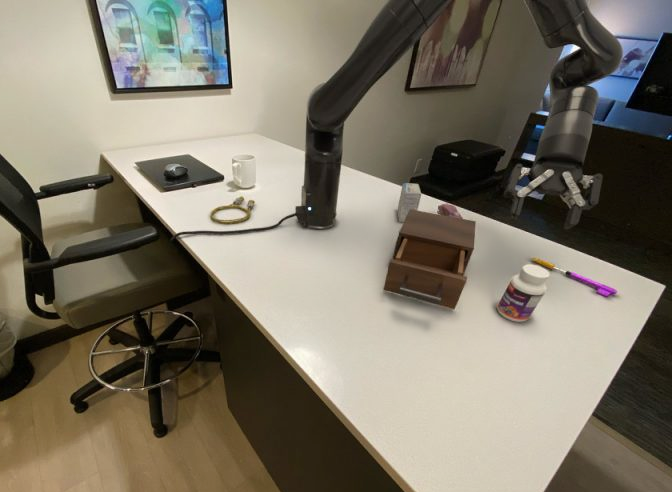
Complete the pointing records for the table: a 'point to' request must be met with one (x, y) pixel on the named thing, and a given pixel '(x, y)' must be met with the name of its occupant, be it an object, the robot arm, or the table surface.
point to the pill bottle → (523, 293)
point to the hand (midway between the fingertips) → (541, 222)
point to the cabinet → (438, 231)
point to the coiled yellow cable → (237, 201)
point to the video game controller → (449, 211)
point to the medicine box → (408, 200)
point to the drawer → (427, 272)
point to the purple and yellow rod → (582, 279)
